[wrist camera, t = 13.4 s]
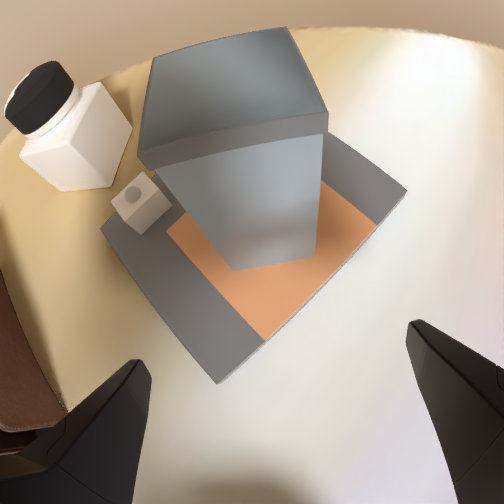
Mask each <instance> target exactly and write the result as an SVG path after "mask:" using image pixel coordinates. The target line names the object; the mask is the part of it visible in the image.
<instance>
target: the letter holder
mask: <svg viewBox="0 0 504 504" xmlns="http://www.w3.org/2000/svg"><path fill="white" fill-rule="evenodd" d="M64 417H66V413H65V411H64V410H63V408H62V406H61V405H60V404H59V402H58V400H57V398H56V396H55V395H54V393H53V391H52V389H51V388H50V386H49V385H48V382H47V381H46V379H45V377H44V375H43V373H42V371H41V369H40V367H39V365H38V363H37V362H36V359H35V357H34V355H33V353H32V351H31V349H30V347H29V345H28V342H27V340H26V338H25V335H24V333H23V331H22V329H21V326H20V324H19V321H18V319H17V316H16V313H15V311H14V309H13V306H12V303H11V301H10V298H9V295H8V292H7V289H6V286H5V283H4V280H3V277H2V274H1V271H0V455H12V454H15V453H17V452H19V451H20V450H22V449H23V448H25V447H26V446H28V445H29V444H30V443H32V442H33V441H35V440H36V439H37V438H39V437H40V436H41V435H43V434H44V433H45V432H47V431H48V430H49V429H51V428H52V427H53V426H54V425H55V424H57V423H58V422H59V421H60V420H61V419H62V418H64Z"/></svg>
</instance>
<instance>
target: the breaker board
mask: <svg viewBox="0 0 504 504" xmlns="http://www.w3.org/2000/svg"><path fill="white" fill-rule="evenodd" d="M406 192H407V190H406V189H405V188H404V187H403V186H401V185H400V184H399V183H398V182H396V181H395V180H394V179H393V178H391V177H390V176H389V175H388V174H386V173H385V172H384V171H382V170H381V169H380V168H379V167H377V166H376V165H375V164H373V163H372V162H371V161H369V160H368V159H366V158H365V157H364V156H362V155H361V154H360V153H358V152H357V151H355V150H354V149H353V148H351V147H350V146H348V145H347V144H345V143H344V142H342V141H341V140H340V139H338V138H337V137H335V136H334V135H332V134H331V133H329V132H328V133H325V134H323V148H322V167H321V183H320V198H319V211H318V223H317V234H316V245H315V255H314V257H312V258H307V259H301V260H296V261H290V262H285V263H279V264H273V265H268V266H262V267H256V268H250V269H245V270H239V271H233V270H232V269H231V267H230V266H229V265H228V264H227V262H226V261H225V260H224V259H223V257H222V256H221V255H220V254H219V252H218V251H217V250H216V249H215V247H214V246H213V245H212V244H211V242H210V241H209V240H208V238H207V237H206V236H205V235H204V233H203V232H202V231H201V230H200V228H199V227H198V226H197V225H196V223H195V222H194V221H193V219H192V218H191V217H190V216H189V214H188V213H187V212H186V211H185V209H184V208H183V207H182V205H181V204H180V203H179V202H178V200H177V199H176V198H175V196H174V195H173V194H172V192H171V191H170V190H169V189H168V187H167V186H166V185H165V183H164V182H163V181H162V179H161V178H160V177H159V176H158V174H156V175H155V176H154V177H153V178H152V179H150V178H149V177H148V176H147V175H146V174H145V173H144V172H143V171H142V172H141V173H140V174H139V175H138V176H137V177H136V178H135V179H133V180H132V181H131V182H130V183H129V184H128V185H127V186H126V187H125V188H124V189H123V190H122V191H121V192H120V193H119V194H118V195H117V196H116V197H115V198H113V199H112V200H111V201H110V202H111V203H112V205H113V206H114V208H115V209H116V210H117V212H116V213H115V214H114V215H113V216H112V217H111V218H110V219H109V220H108V221H107V222H106V223H105V224H104V225H103V226H102V227H101V228H100V229H101V231H102V233H103V234H104V236H105V237H106V239H107V240H108V242H109V244H110V245H111V247H112V248H113V250H114V251H115V253H116V254H117V256H118V257H119V259H120V260H121V262H122V263H123V265H124V266H125V268H126V269H127V271H128V272H129V274H130V275H131V276H132V278H133V279H134V281H135V282H136V284H137V285H138V286H139V288H140V289H141V291H142V292H143V293H144V295H145V296H146V298H147V299H148V300H149V302H150V303H151V304H152V306H153V307H154V308H155V310H156V311H157V312H158V314H159V315H160V316H161V318H162V319H163V320H164V322H165V323H166V324H167V325H168V327H169V328H170V329H171V331H172V332H173V333H174V334H175V336H176V337H177V338H178V339H179V341H180V342H181V343H182V344H183V346H184V347H185V348H186V349H187V350H188V352H189V353H190V354H191V355H192V356H193V358H194V359H195V360H196V361H197V362H198V364H199V365H200V366H201V367H202V368H203V369H204V371H205V372H206V373H207V374H208V375H209V376H210V377H211V379H212V380H213V381H214V382H215V383H216V384H220V383H222V382H223V381H224V380H225V379H226V378H228V377H229V376H230V375H231V374H232V373H233V372H234V371H235V370H237V369H238V368H239V367H240V366H241V365H242V364H243V363H244V362H246V361H247V360H248V359H249V358H250V357H251V356H252V355H253V354H254V353H255V352H257V351H258V350H259V349H260V348H261V347H262V346H263V345H264V344H265V343H266V342H267V341H268V340H269V339H270V338H272V337H273V336H274V335H275V334H276V333H277V332H278V331H279V330H280V329H281V328H282V327H283V326H284V325H285V324H286V323H287V322H288V321H289V320H290V319H291V318H292V317H293V316H294V315H295V314H296V313H297V312H298V311H299V310H301V309H302V308H303V307H304V306H305V305H306V304H307V303H308V302H309V301H310V300H311V299H312V298H313V296H314V295H315V294H316V293H317V292H318V291H319V290H320V289H321V288H322V287H323V286H324V285H325V284H326V283H327V282H328V281H329V280H330V279H331V278H332V277H333V276H334V275H335V274H336V273H337V272H338V271H339V270H340V269H341V267H342V266H343V265H344V264H345V263H346V262H347V261H348V260H349V259H350V258H351V257H352V256H353V255H354V253H355V252H356V251H357V250H358V249H359V248H360V247H361V246H362V245H363V244H364V243H365V241H366V240H367V239H368V238H369V237H370V236H371V235H372V234H373V232H374V231H375V230H376V229H377V228H378V227H379V226H380V224H381V223H382V222H383V221H384V220H385V219H386V218H387V216H388V215H389V214H390V213H391V212H392V211H393V209H394V208H395V207H396V206H397V205H398V204H399V202H400V201H401V200H402V199H403V198H404V196H405V194H406Z"/></svg>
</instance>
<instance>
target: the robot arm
mask: <svg viewBox="0 0 504 504" xmlns="http://www.w3.org/2000/svg"><path fill="white" fill-rule="evenodd" d="M406 347H407V350H408V353H409V357H410V360H411V363H412V367H413V370H414V373H415V377H416V380H417V384H418V386H419V389H420V391H421V394H422V396H423V399H424V401H425V404H426V406H427V409H428V412H429V414H430V417H431V419H432V422H433V425H434V427H435V430H436V433H437V436H438V439H439V441H440V444H441V447H442V450H443V453H444V456H445V459H446V462H447V465H448V469H449V472H450V475H451V478H452V482H453V485H454V489H455V493H456V496H457V500H458V504H504V369H503V368H501V367H500V366H496V364H495V363H493V362H491V361H490V360H488V359H487V358H485V357H483V356H482V355H480V354H478V353H477V352H475V351H473V350H472V349H470V348H468V347H467V346H465V345H464V344H462V343H460V342H459V341H457V340H455V339H454V338H452V337H450V336H449V335H447V334H445V333H443V332H442V331H440V330H438V329H437V328H435V327H433V326H432V325H430V324H428V323H427V322H425V321H423V320H421V319H418V320H414V321H411V322H409V324H408V329H407V336H406ZM151 383H152V378H151V375H150V373H149V371H148V369H147V368H146V366H145V364H144V363H143V361H142V360H140V359H132V360H129V361H128V362H127V363H126V364H125V365H124V366H122V367H121V368H120V369H119V370H118V371H117V372H115V373H114V374H113V375H112V376H111V377H110V378H109V379H107V380H106V381H105V382H104V383H103V384H102V385H101V386H99V387H98V388H97V389H96V390H95V391H94V392H92V393H91V394H90V395H89V396H88V397H87V398H86V399H84V400H83V401H82V402H81V403H80V404H79V405H77V406H76V407H75V408H74V409H73V410H72V411H71V412H69V413H68V414H67V415H66V417H64V418H62V419H61V420H60V421H59V422H58V423H57V424H55V425H54V426H53V427H52V428H51V429H49V430H48V431H47V432H45V433H44V434H43V435H41V436H40V437H39V438H37V439H36V440H35V441H33V442H32V443H30V444H29V445H28V446H26V447H25V448H23V449H22V450H20V451H19V452H17V453H15V454H12V455H0V504H132V499H133V493H134V487H135V481H136V475H137V470H138V464H139V459H140V453H141V448H142V443H143V438H144V433H145V428H146V423H147V418H148V411H149V401H150V392H151Z"/></svg>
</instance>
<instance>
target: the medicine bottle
mask: <svg viewBox="0 0 504 504" xmlns="http://www.w3.org/2000/svg"><path fill="white" fill-rule="evenodd" d="M4 116H5V117H6V118H7V119H8V120H9V121H10V122H11V123H12V124H13V125H14V126H15V127H16V128H17V129H18V130H19V131H20V132H21V133H22V134H23V135H24V136H25V137H26V138H27V140H26V142H25V144H24V146H23V148H22V150H21V152H20V155H19V156H20V159H22V160H23V161H24V162H25V163H26V164H28V165H29V166H30V167H31V168H32V169H34V170H35V171H36V172H37V173H38V174H40V175H41V176H42V177H43V178H44V179H46V180H47V181H48V182H49V183H51V184H52V185H53V186H54V187H56V188H57V189H58V190H59V191H61V192H67V191H76V190H86V189H96V188H107V187H111V186H112V183H113V180H114V178H115V175H116V172H117V169H118V166H119V163H120V161H121V158H122V155H123V153H124V150H125V147H126V145H127V142H128V140H129V137H130V135H131V132H132V130H133V128H132V126H131V125H130V123H129V122H128V120H127V119H126V118H125V116H124V115H123V113H122V112H121V110H120V109H119V107H118V106H117V105H116V103H115V102H114V100H113V99H112V97H111V96H110V95H109V93H108V92H107V90H106V89H105V87H104V86H103V84H102V83H101V82H96V83H93V84H90V85H87V86H84V87H81V88H79V89H78V87H77V86H76V85H75V83H74V82H73V81H72V80H71V78H70V77H69V75H68V74H67V73H66V72H65V70H64V69H63V67H62V66H61V65H60V63H59V62H57V61H50V62H47V63H44V64H42V65H40V66H38V67H36V68H35V69H33V70H32V71H31V72H30V73H28V74H27V75H26V76H25V77H24V78H23V79H22V80H21V81H20V82H19V83H18V85H17V86H16V87H15V88H14V90H13V91H12V92H11V94H10V96H9V98H8V100H7V102H6V105H5V108H4Z"/></svg>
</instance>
